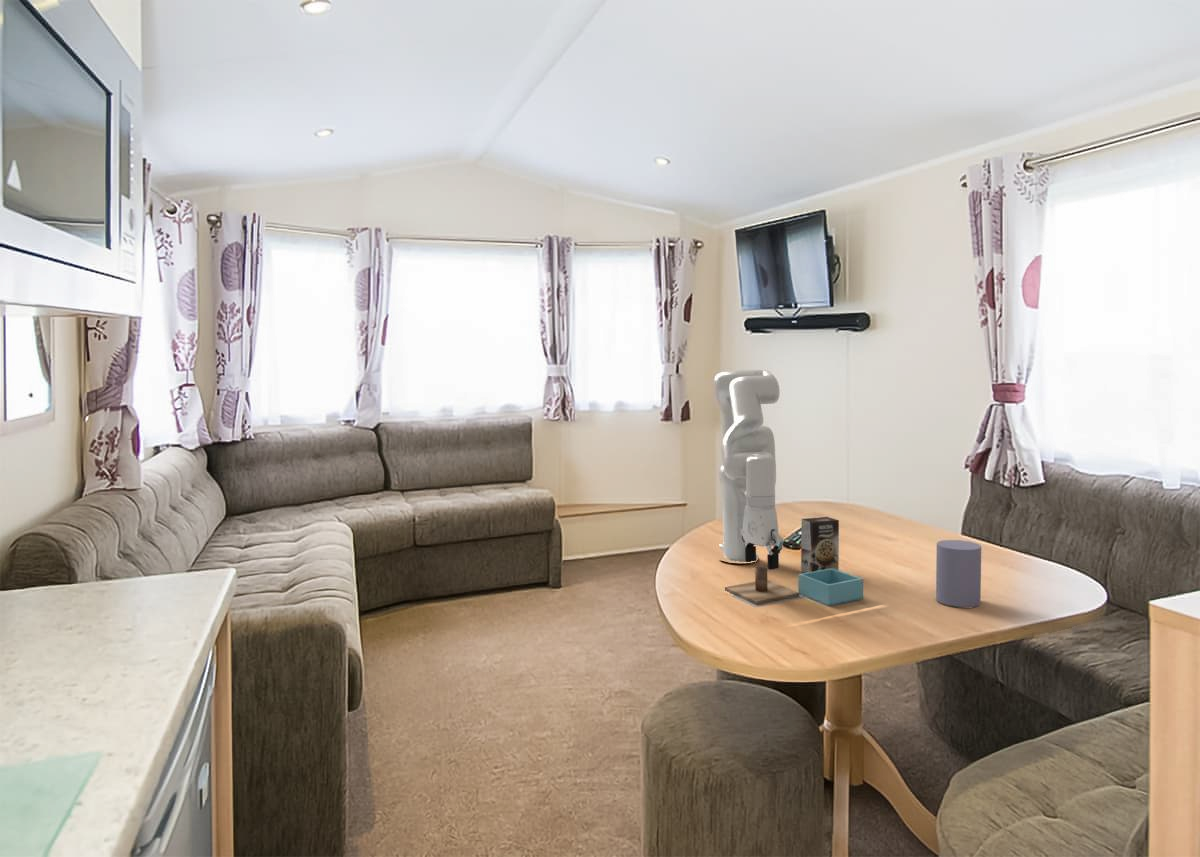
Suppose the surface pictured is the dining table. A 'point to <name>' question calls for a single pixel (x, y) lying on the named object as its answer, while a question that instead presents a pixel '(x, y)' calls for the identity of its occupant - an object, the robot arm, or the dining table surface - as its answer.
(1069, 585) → the dining table surface
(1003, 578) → the dining table surface
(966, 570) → the container
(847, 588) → the open box
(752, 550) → the robot arm
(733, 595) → the mat
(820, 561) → the coffee box
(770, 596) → the lid
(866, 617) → the dining table surface
